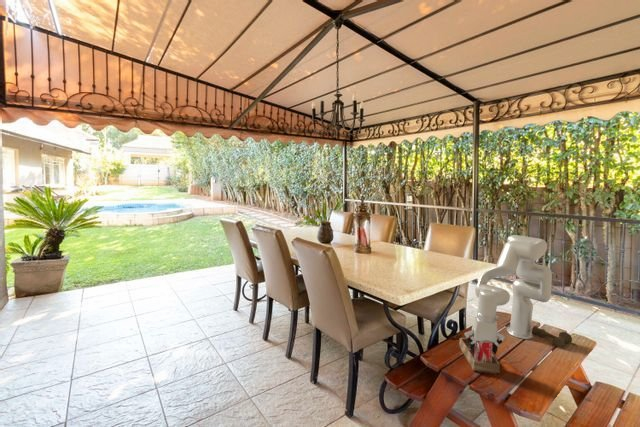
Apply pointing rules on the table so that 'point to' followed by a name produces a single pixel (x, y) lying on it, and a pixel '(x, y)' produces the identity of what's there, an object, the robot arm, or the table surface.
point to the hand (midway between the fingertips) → (483, 351)
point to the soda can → (483, 351)
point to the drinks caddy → (476, 366)
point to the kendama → (554, 337)
